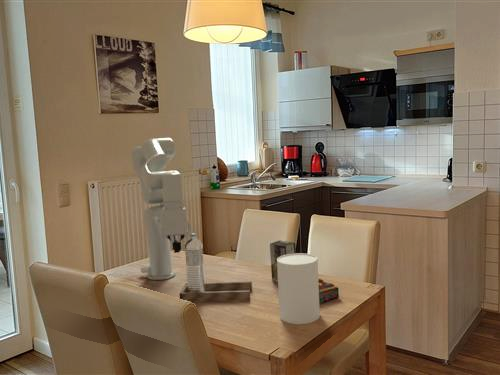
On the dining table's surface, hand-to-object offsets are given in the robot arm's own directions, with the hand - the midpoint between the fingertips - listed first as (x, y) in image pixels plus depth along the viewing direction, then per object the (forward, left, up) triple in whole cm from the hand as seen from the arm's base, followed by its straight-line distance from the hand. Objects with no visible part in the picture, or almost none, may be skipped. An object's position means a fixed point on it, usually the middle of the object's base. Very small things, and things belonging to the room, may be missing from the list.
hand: (177, 251), depth 191 cm
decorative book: (+52, -3, -19) cm, 56 cm away
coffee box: (+40, +16, -18) cm, 47 cm away
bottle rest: (+14, 0, -18) cm, 23 cm away
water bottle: (+6, 0, -18) cm, 19 cm away
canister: (+45, -22, -18) cm, 54 cm away
